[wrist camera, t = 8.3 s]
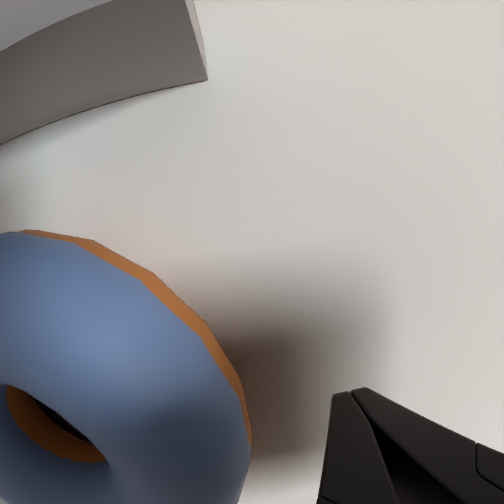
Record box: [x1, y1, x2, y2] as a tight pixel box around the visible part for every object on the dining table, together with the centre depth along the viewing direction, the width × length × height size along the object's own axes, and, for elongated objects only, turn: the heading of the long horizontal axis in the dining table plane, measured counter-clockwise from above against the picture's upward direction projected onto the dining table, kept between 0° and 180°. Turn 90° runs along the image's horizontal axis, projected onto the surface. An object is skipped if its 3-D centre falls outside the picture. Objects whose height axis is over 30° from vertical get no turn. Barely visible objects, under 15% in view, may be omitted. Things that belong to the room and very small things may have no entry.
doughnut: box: [0, 230, 253, 504], centre depth 6 cm, size 10×10×5 cm
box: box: [0, 0, 208, 504], centre depth 6 cm, size 14×18×4 cm
